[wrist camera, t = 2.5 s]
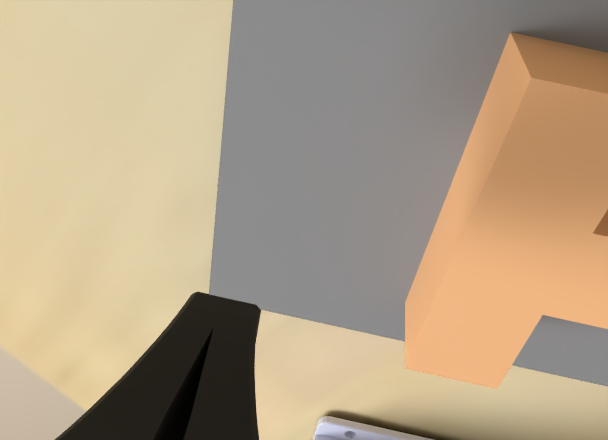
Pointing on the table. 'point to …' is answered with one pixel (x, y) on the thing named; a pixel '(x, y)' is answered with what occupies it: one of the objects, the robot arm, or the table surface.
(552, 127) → the t block
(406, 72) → the mat
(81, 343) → the table surface
